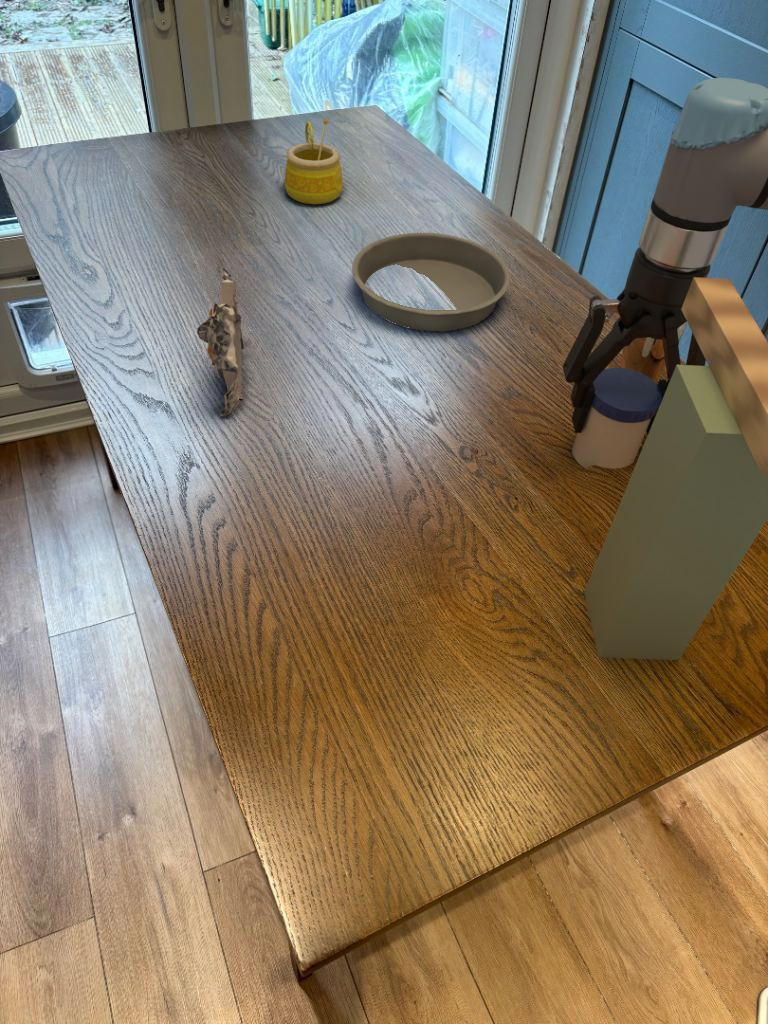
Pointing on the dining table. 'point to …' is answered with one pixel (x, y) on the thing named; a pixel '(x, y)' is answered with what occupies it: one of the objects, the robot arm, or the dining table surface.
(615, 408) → the jar lid
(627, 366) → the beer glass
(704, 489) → the stand
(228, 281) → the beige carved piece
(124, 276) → the dining table surface
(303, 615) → the dining table surface
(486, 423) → the dining table surface
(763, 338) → the beech stick
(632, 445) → the jam jar
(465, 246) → the cake pan
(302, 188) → the yellow pot
